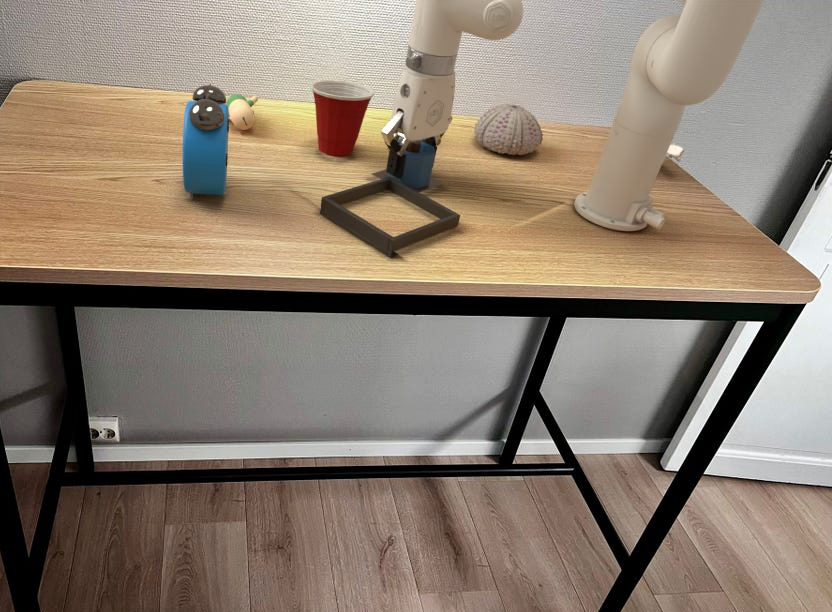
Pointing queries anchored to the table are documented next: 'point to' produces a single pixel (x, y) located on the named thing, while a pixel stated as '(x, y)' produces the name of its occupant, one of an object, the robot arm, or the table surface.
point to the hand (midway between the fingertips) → (409, 169)
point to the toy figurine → (241, 111)
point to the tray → (375, 235)
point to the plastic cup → (339, 114)
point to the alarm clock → (205, 142)
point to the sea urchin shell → (508, 130)
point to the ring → (417, 166)
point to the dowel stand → (413, 148)
